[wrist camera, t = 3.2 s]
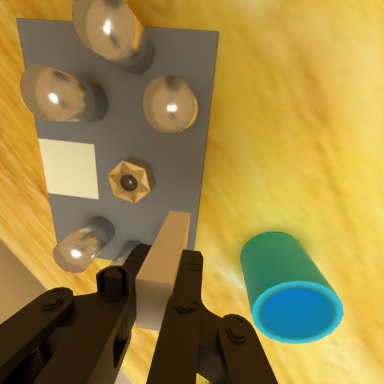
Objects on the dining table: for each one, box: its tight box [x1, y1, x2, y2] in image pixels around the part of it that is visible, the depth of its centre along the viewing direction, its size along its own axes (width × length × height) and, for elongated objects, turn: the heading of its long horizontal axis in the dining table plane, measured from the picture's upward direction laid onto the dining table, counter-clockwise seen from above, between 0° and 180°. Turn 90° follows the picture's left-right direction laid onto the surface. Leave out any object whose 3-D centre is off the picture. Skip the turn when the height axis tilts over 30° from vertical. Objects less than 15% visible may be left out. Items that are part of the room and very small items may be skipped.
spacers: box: [20, 0, 200, 273], centre depth 20 cm, size 28×14×6 cm, turn 175°
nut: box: [108, 158, 155, 204], centre depth 22 cm, size 5×4×2 cm
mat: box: [16, 18, 219, 260], centre depth 23 cm, size 28×20×1 cm
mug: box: [241, 232, 343, 344], centre depth 22 cm, size 12×8×8 cm
